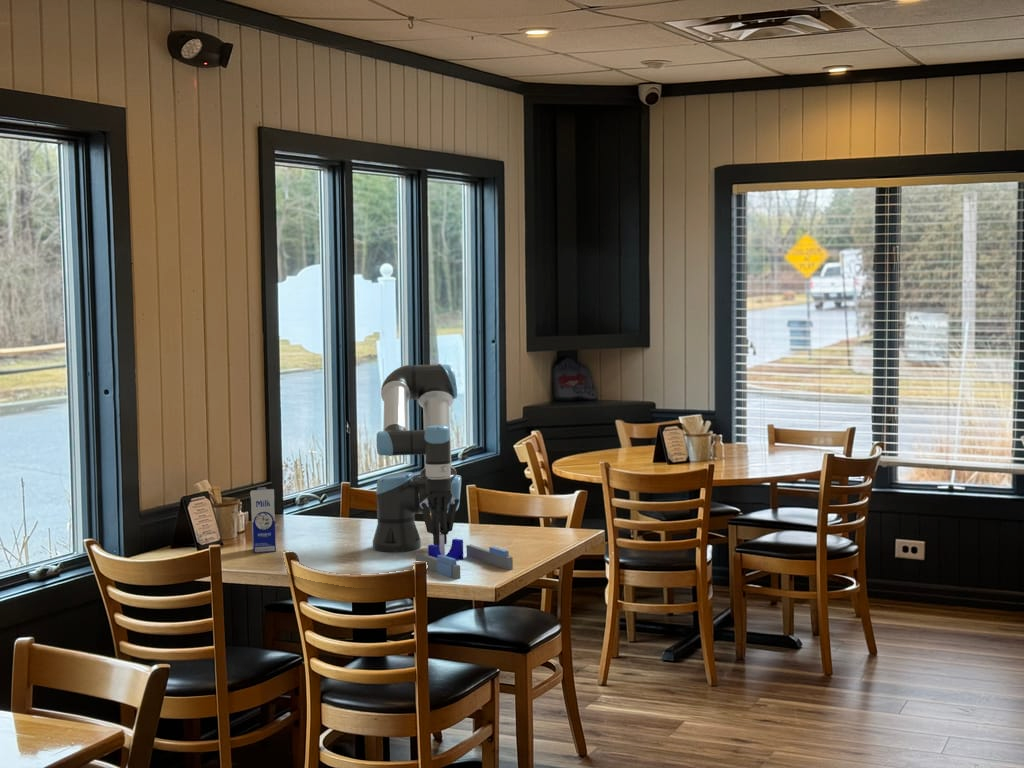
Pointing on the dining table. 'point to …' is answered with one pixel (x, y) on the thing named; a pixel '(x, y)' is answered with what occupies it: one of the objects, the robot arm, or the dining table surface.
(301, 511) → the dining table surface
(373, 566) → the dining table surface
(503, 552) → the blue grey block group
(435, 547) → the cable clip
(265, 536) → the milk carton
